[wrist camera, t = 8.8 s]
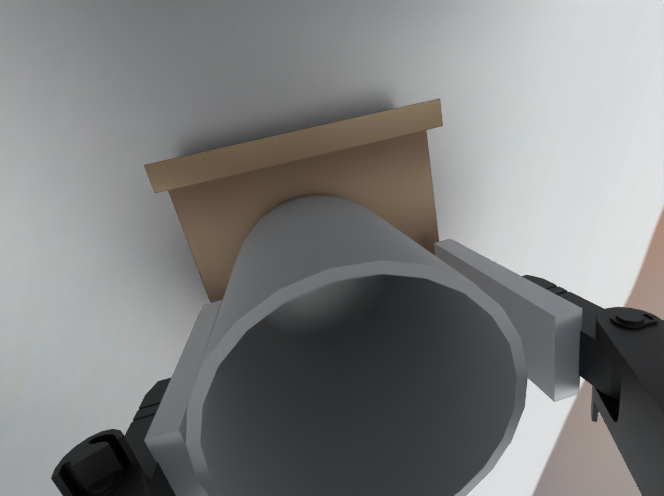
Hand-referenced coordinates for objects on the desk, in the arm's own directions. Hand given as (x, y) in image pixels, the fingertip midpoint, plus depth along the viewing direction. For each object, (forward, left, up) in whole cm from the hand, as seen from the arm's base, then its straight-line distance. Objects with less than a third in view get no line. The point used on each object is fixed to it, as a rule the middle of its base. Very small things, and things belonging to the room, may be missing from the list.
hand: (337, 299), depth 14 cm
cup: (0, 0, -2) cm, 2 cm away
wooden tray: (0, 0, -5) cm, 5 cm away
